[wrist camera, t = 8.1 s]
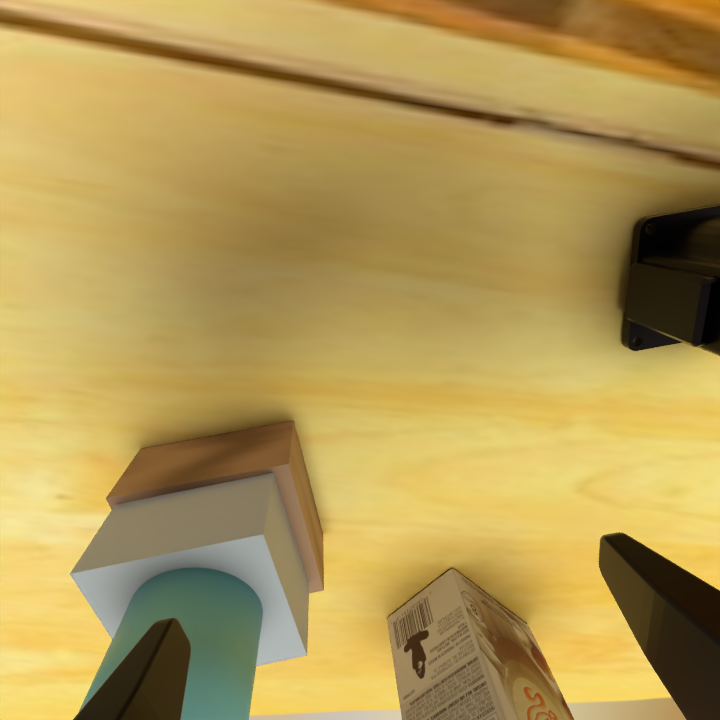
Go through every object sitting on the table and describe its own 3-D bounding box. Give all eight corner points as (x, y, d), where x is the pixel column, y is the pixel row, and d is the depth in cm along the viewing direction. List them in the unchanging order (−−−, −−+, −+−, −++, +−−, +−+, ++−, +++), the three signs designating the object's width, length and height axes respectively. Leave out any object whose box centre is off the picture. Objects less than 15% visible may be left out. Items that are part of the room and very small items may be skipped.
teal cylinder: (242, 555, 15) (207, 718, 10) (276, 642, 17) (259, 812, 12) (107, 582, 15) (10, 760, 10) (157, 666, 17) (95, 846, 12)
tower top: (273, 472, 18) (263, 534, 15) (309, 582, 21) (306, 655, 17) (115, 504, 18) (70, 573, 14) (172, 611, 20) (144, 689, 17)
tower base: (294, 417, 21) (288, 463, 18) (323, 530, 24) (323, 590, 21) (143, 445, 21) (105, 498, 18) (191, 556, 24) (168, 620, 21)
